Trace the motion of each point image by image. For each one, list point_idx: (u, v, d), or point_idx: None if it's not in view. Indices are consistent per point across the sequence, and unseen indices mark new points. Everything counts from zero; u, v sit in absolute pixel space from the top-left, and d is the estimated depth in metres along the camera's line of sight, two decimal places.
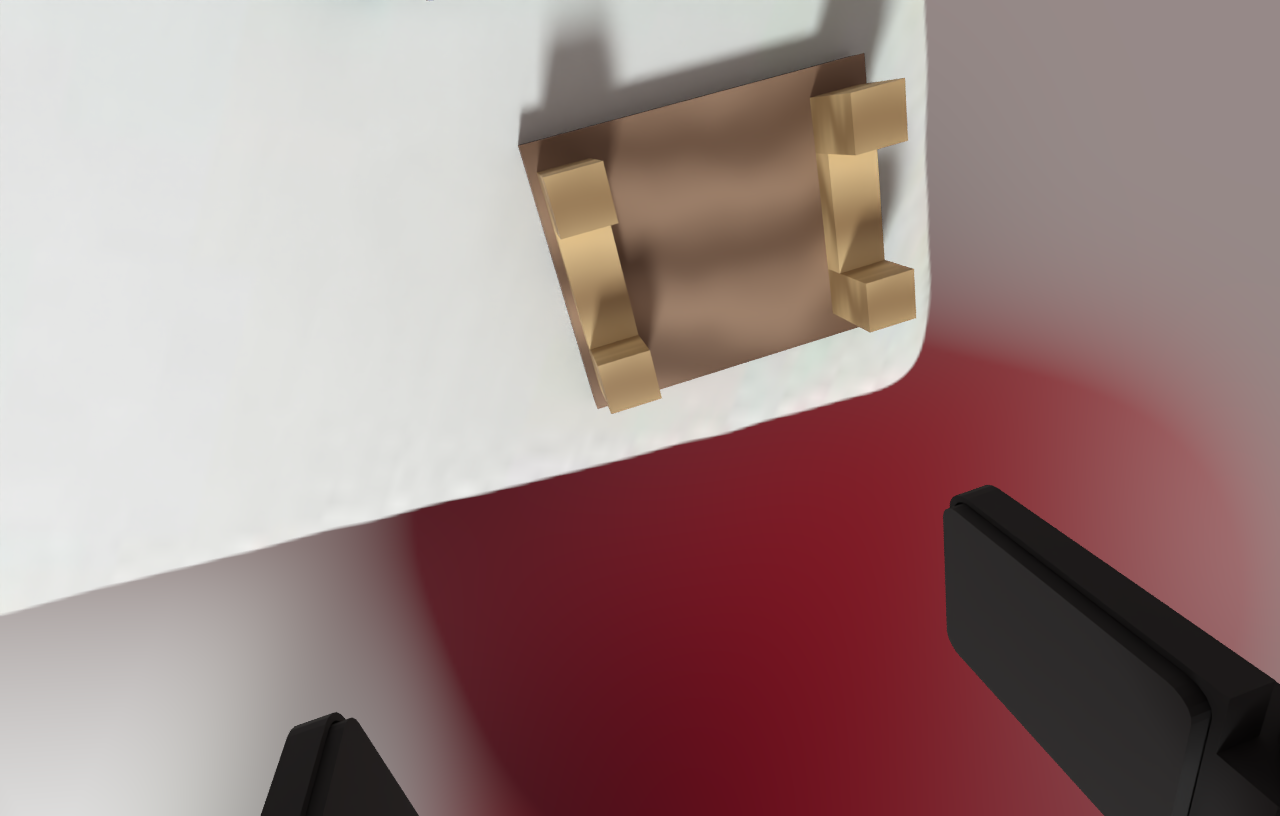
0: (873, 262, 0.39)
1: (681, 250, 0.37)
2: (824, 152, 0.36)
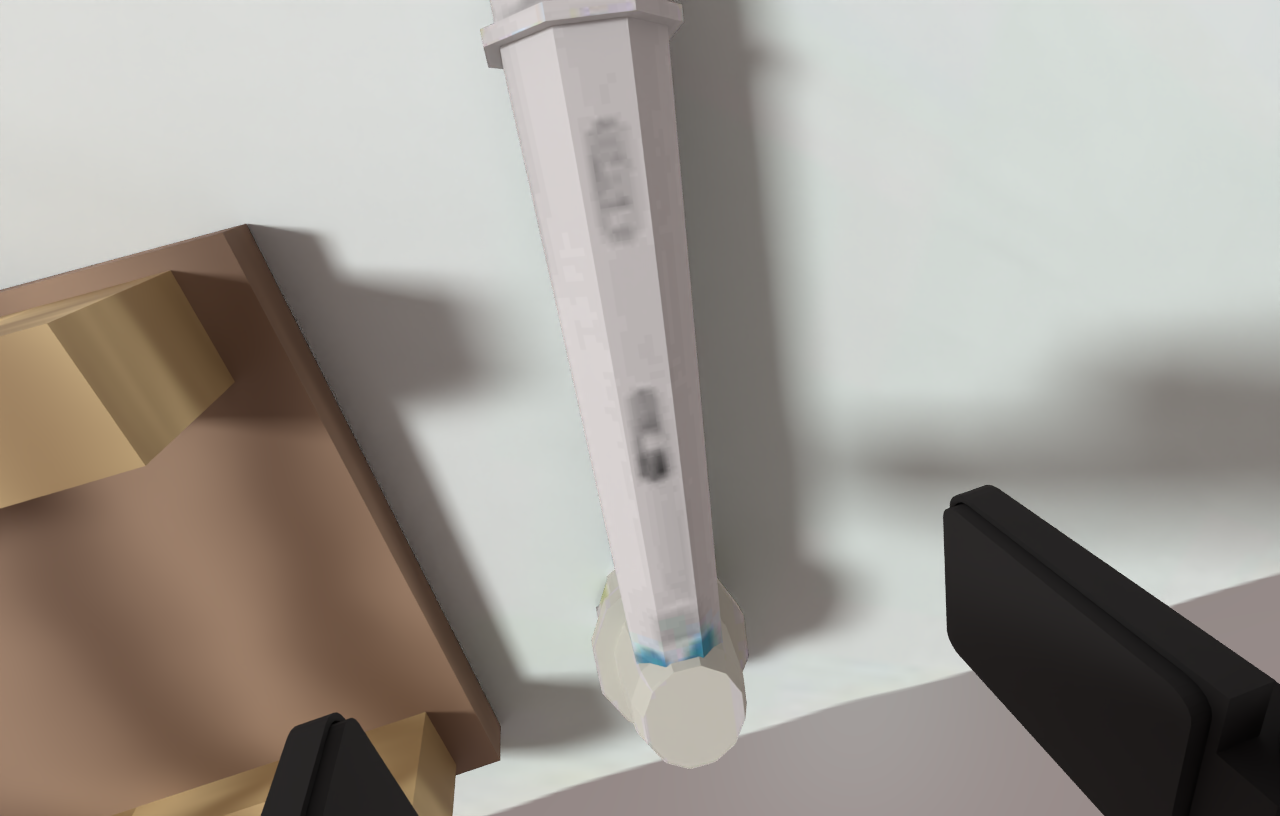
0: None
1: (83, 570, 0.18)
2: None
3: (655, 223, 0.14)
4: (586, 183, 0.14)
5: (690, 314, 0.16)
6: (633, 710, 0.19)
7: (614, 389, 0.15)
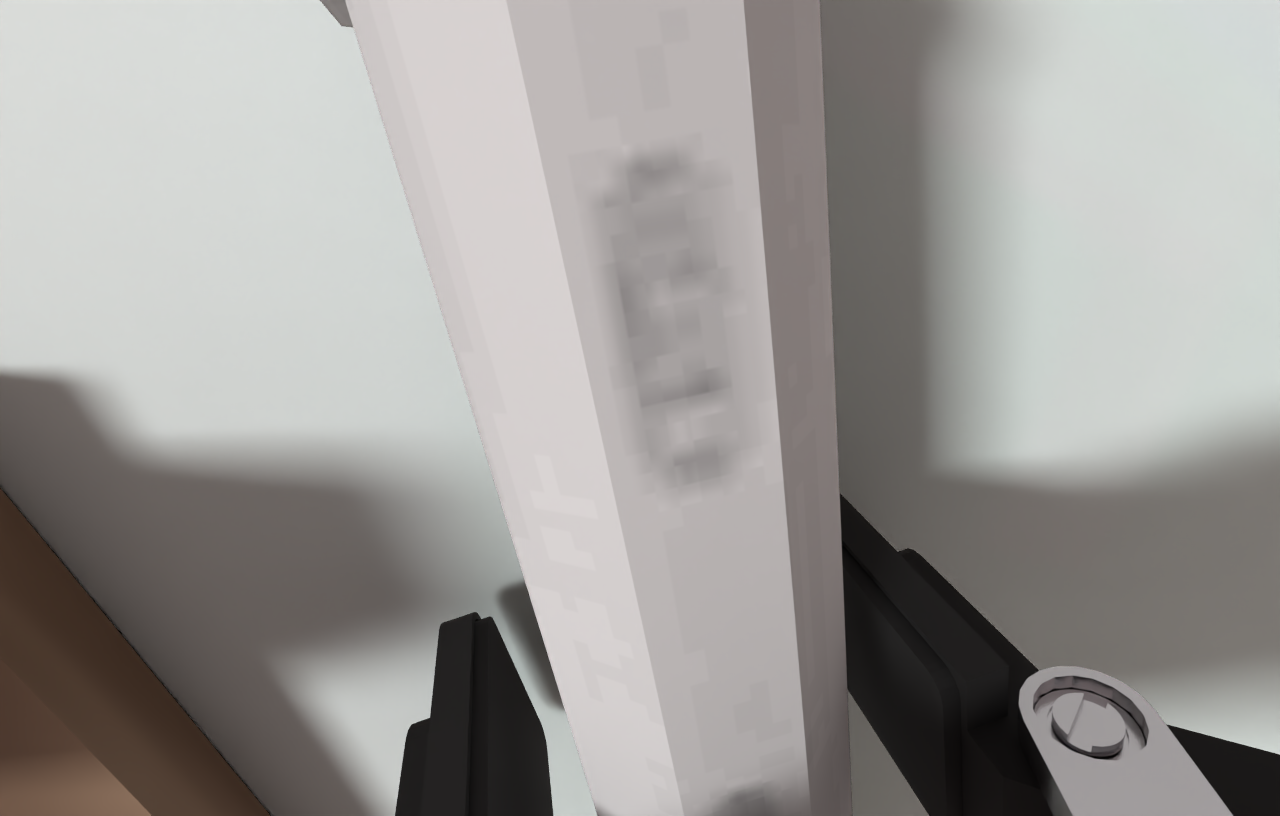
0: None
1: None
2: None
3: (786, 425, 0.05)
4: (599, 341, 0.05)
5: (838, 586, 0.07)
6: None
7: (674, 798, 0.06)
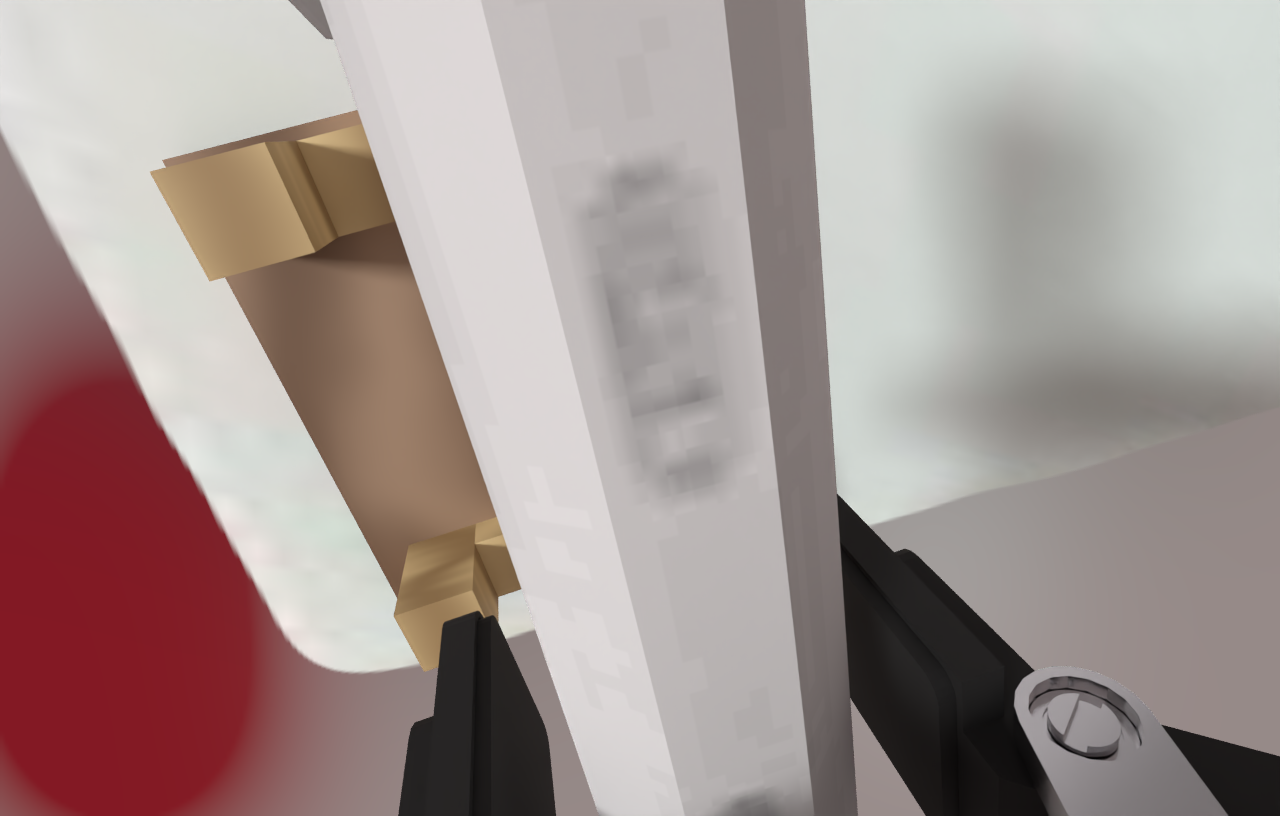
0: (493, 583, 0.27)
1: None
2: None
3: (780, 432, 0.05)
4: (586, 353, 0.05)
5: (838, 589, 0.07)
6: None
7: (678, 805, 0.06)
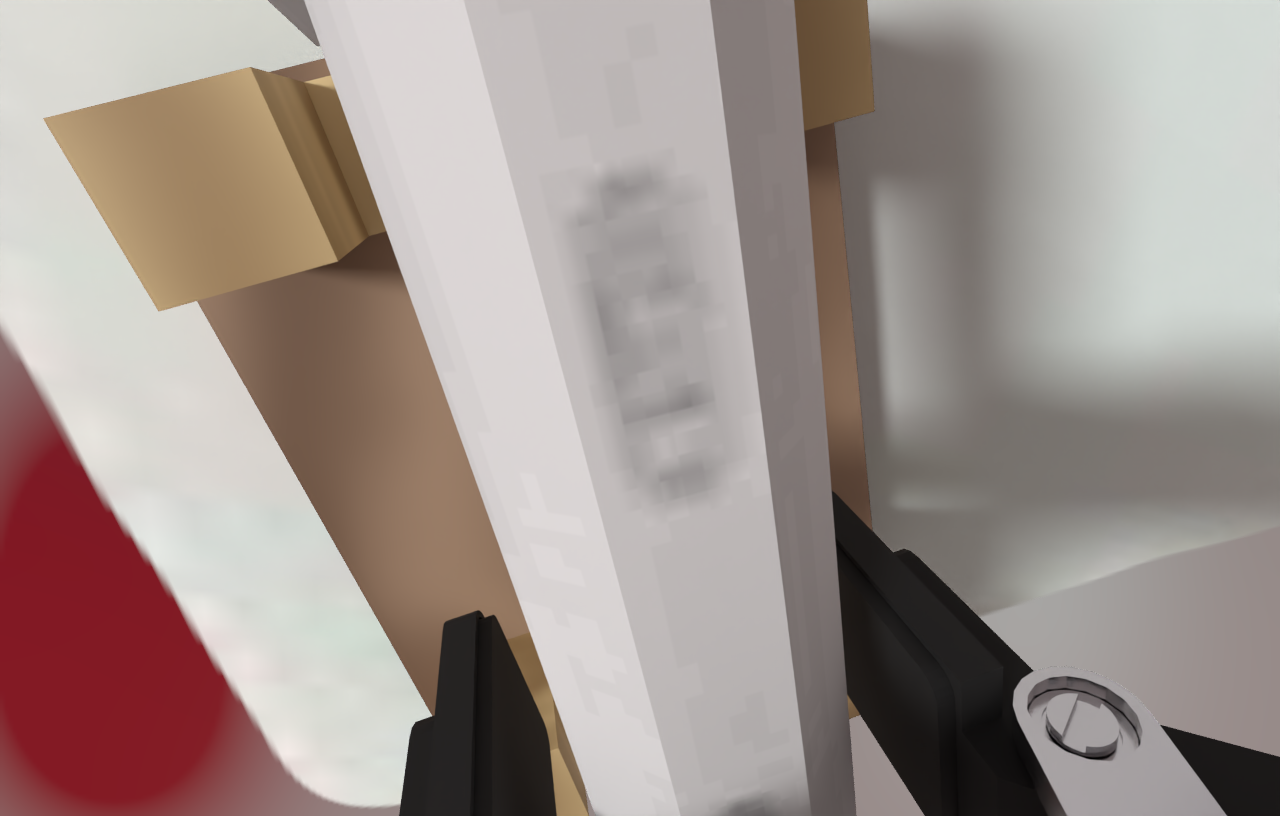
0: None
1: None
2: None
3: (773, 436, 0.05)
4: (578, 361, 0.05)
5: (834, 592, 0.07)
6: None
7: (675, 811, 0.06)
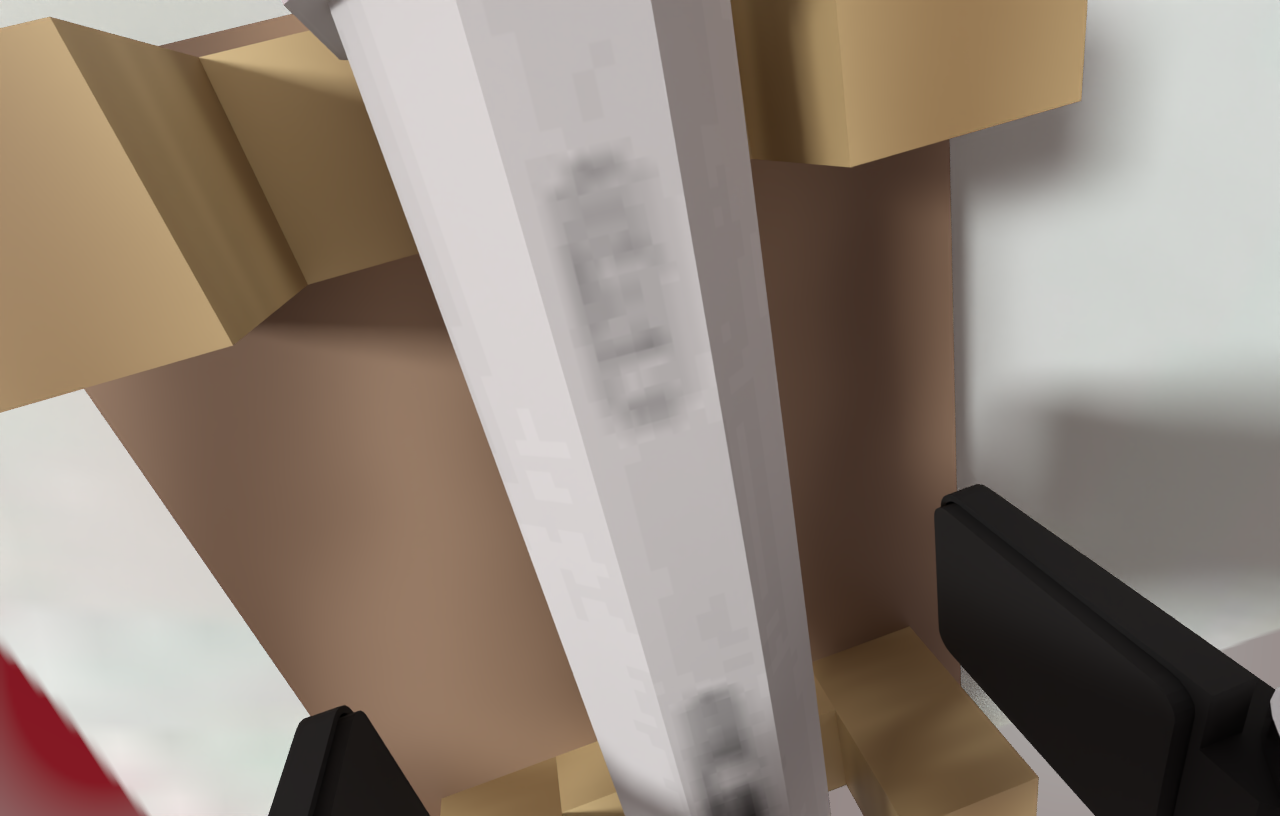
0: None
1: None
2: (830, 695, 0.16)
3: (723, 374, 0.06)
4: (559, 310, 0.06)
5: (789, 518, 0.08)
6: None
7: (653, 700, 0.07)
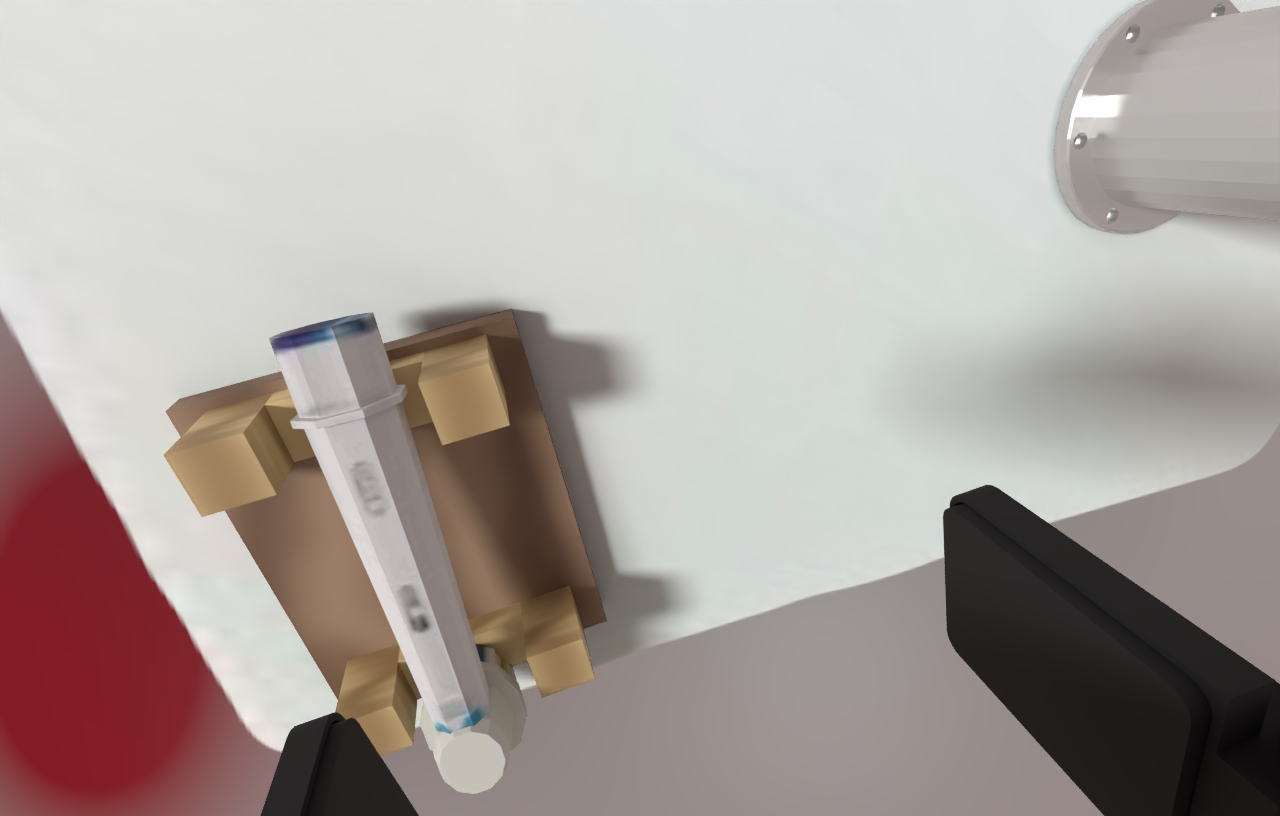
0: (413, 690, 0.36)
1: None
2: (522, 614, 0.36)
3: (398, 503, 0.26)
4: (353, 491, 0.26)
5: (433, 537, 0.28)
6: (436, 761, 0.31)
7: (389, 587, 0.27)
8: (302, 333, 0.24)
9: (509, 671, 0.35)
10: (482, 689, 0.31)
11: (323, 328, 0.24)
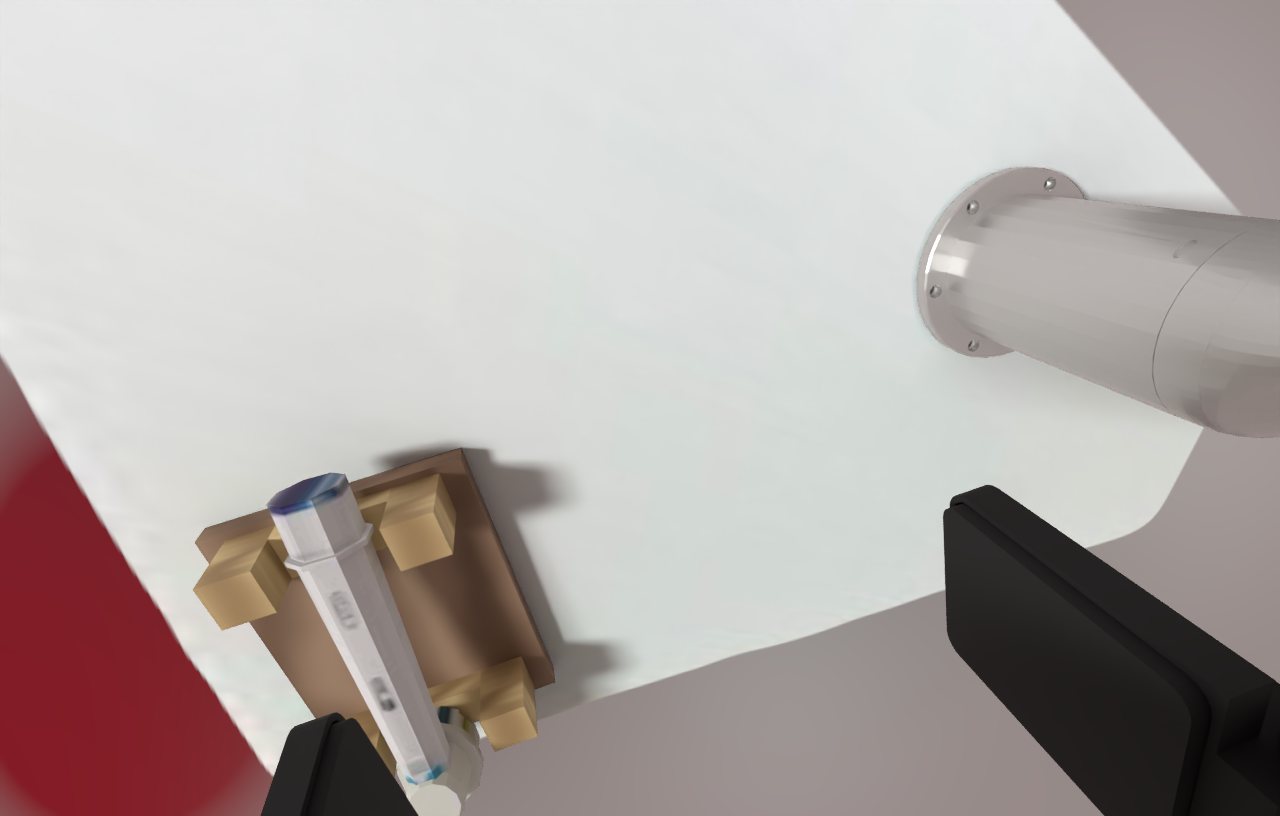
0: None
1: None
2: (481, 681, 0.44)
3: (366, 619, 0.35)
4: (332, 612, 0.34)
5: (397, 639, 0.36)
6: None
7: (362, 679, 0.36)
8: (289, 504, 0.32)
9: (470, 728, 0.44)
10: (441, 750, 0.39)
11: (305, 500, 0.32)
